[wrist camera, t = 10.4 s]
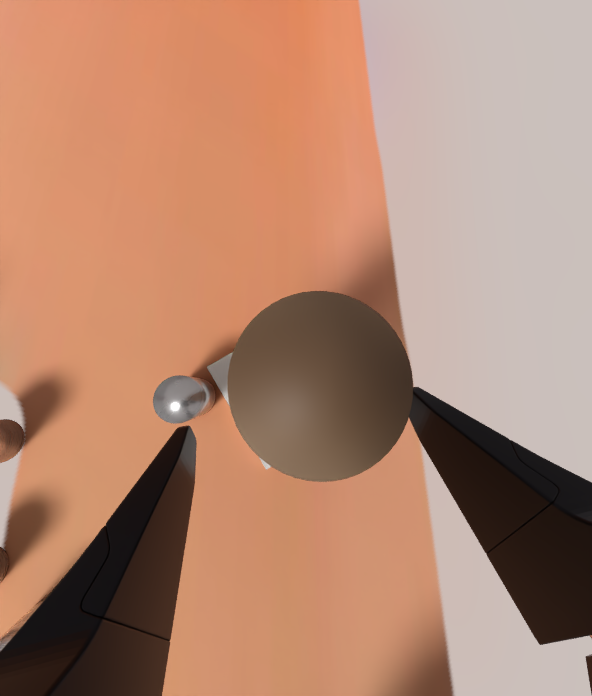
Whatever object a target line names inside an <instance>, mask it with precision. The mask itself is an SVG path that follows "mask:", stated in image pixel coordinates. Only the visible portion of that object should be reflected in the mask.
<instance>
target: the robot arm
mask: <svg viewBox="0 0 592 696" xmlns="http://www.w3.org/2000/svg"><path fill="white" fill-rule="evenodd" d="M409 418H410V421H411V423H412V425H413V427H414V429H415V432H416V434H417V436H418V438H419V440H420V441H421V443H422V445H423V447H424V448H425V450H426V452H427V454H428V455H429V457H430V459H431V460H432V462H433V464H434V465H435V467H436V469H437V471H438V472H439V474H440V476H441V477H442V479H443V481H444V483H445V484H446V486H447V488H448V489H449V491H450V493H451V495H452V496H453V498H454V500H455V501H456V503H457V505H458V507H459V508H460V510H461V512H462V513H463V515H464V516H465V519H466V520H467V522H468V524H469V525H470V527H471V529H472V530H473V532H474V534H475V536H476V537H477V539H478V540H479V542H480V544H481V546H482V548H483V549H484V551H485V553H487V556H488V558H489V560H490V562H491V563H492V565H493V566H494V568H495V570H496V572H497V573H498V575H499V577H500V579H501V580H502V582H503V584H504V585H505V587H506V589H507V591H508V592H509V594H510V596H511V597H512V599H513V601H514V603H515V604H516V606H517V608H518V609H519V611H520V613H521V614H522V616H523V618H524V620H525V621H526V623H527V625H528V626H529V628H530V630H531V632H532V633H533V635H534V637H535V638H536V639H537V641H538V643H539V644H540V645H543V644H548V643H552V642H558V641H563V640H568V639H574V638H579V637H583V636H590V637H591V638H592V483H591V482H589V481H587V480H585V479H583V478H581V477H580V476H578V475H575V474H574V473H572V472H569V471H568V470H566V469H564V468H562V467H560V466H558V465H556V464H554V463H552V462H550V461H548V460H546V459H544V458H542V457H540V456H538V455H537V454H535V453H533V452H531V451H529V450H528V449H526V448H524V447H522V446H520V445H519V444H517V443H515V442H513V441H511V440H509V439H508V438H506V437H505V436H503V435H501V434H499V433H498V432H496V431H494V430H492V429H491V428H489V427H487V426H485V425H484V424H482V423H480V422H478V421H477V420H475V419H473V418H471V417H470V416H468V415H466V414H464V413H462V412H461V411H459V410H457V409H456V408H454V407H452V406H450V405H449V404H447V403H445V402H443V401H442V400H440V399H438V398H436V397H435V396H433V395H431V394H429V393H428V392H426V391H424V390H422V389H421V388H419V387H413V398H412V405H411V410H410V414H409ZM195 466H196V438H195V435H194V433H193V431H192V429H191V427H190V426H182V427H179V428H177V429H176V431H175V432H174V433H173V435H172V436H171V437H170V439H169V440H168V441H167V443H166V444H165V445H164V447H163V448H162V449H161V451H160V452H159V453H158V455H157V456H156V457H155V459H154V460H153V461H152V463H151V464H150V465H149V467H148V468H147V469H146V471H145V472H144V473H143V475H142V476H141V477H140V479H139V480H138V481H137V483H136V484H135V485H134V487H133V488H132V489H131V491H130V492H129V493H128V495H127V496H126V497H125V499H124V500H123V501H122V503H121V504H120V505H119V507H118V508H117V509H116V511H115V512H114V513H113V515H112V516H111V517H110V519H109V520H108V521H107V523H106V526H104V527H103V528H102V529H101V531H100V532H99V533H98V535H97V536H96V537H95V539H94V540H93V541H92V542H91V544H90V545H89V546H88V548H87V549H86V550H85V552H84V553H83V554H82V555H81V557H80V558H79V559H78V560H77V562H76V563H75V564H74V565H73V567H72V568H71V569H70V570H69V571H68V573H67V574H66V575H65V576H64V577H63V579H62V580H61V581H60V582H59V583H58V585H57V586H56V587H55V588H54V589H53V590H52V592H51V593H50V594H49V595H48V596H47V598H46V599H45V600H44V601H43V602H42V603H41V605H40V606H39V607H38V608H37V609H36V610H35V612H34V613H33V614H32V615H31V616H30V617H29V619H28V620H27V621H26V622H25V623H24V625H23V626H22V627H21V628H20V629H19V630H18V632H17V633H16V634H15V635H14V636H13V637H12V639H11V640H10V641H9V642H8V643H7V644H6V645H5V647H4V648H3V649H2V650H1V651H0V696H162V691H163V685H164V678H165V672H166V666H167V659H168V653H169V646H170V639H171V633H172V626H173V620H174V614H175V607H176V601H177V594H178V588H179V581H180V575H181V569H182V562H183V556H184V549H185V543H186V537H187V530H188V524H189V517H190V511H191V505H192V498H193V492H194V484H195ZM586 662H587V668H588V675H589V681H590V687H591V693H592V655H589V656H586Z"/></svg>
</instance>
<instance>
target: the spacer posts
mask: <svg viewBox="0 0 592 696" xmlns="http://www.w3.org/2000/svg"><path fill="white" fill-rule="evenodd" d="M215 399H216V393H215V389H214V387H213V386H212V384H211V383H210V382H208V381H207V380H205V379H201V378H195V377H188V376H180V375H179V376H173V377H170V378H168V379H166V380H164V381H163V382H162V383H161V384H160V385H159V386H158V387H157V389H156V391H155V393H154V397H153V405H154V409H155V411H156V413H157V415H158V416H159V417H160V418H161V419H163V420H164V421H166V422H169V423H182V422H185V421H188V420H191V419H193V418H196V417H198V416H201V415H204V414H205V413H207V412H208V411H209V410H210V409H211V408H212V407H213V405H214V403H215ZM23 443H24V431H23V429H22V427H21V426H20V425H19V424H18V423H17V422H15V421H12V420H7V419H6V420H5V419H4V420H0V463H2V462H5V461H7V460H9V459H11V458H13V457H14V456H15V455H16V454H17V453H18V452H19V451H20V449H21V448H22V446H23ZM7 569H8V556H7V554H6V552H5V551H4V549H3V548H2V547H0V582H1V581H2V580H3V578H4V577H5V575H6V572H7ZM43 601H44V600H43ZM43 601H41V602H39V603H38V604H36V605H35V606H34V607H33V608H32V609H31V610H30V611H29V612H28V613H27V614H26V615H24V616H23V617H22V618H21V619H20V620H19V621H18V622H17V623H16V624H15V625H14V626H13V627H11V628H10V629H9V630H8V631H7V632H6V633H5V634H4V635H3V636H2V637H1V638H0V651H1V650H2V649H3V648H4V647H5V645H6V644H7V643H8V642H9V641H10V640H11V639H12V637H13V636H14V635H15V634H16V633H17V632H18V630H19V629H20V628H21V627H22V626H23V625H24V623H25V622H26V621H27V620H28V619H29V617H30V616H31V615H32V614H33V613H34V612H35V610H36V609H37V608H38V607H39V606H40V605H41V603H42V602H43Z"/></svg>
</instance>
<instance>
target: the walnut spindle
mask: <svg viewBox="0 0 592 696" xmlns="http://www.w3.org/2000/svg"><path fill="white" fill-rule="evenodd" d="M227 390H228V399H229V405H230V409H231V413H232V416H233V418H234V421H235V424H236V426H237V428H238V430H239V432H240V433H241V435H242V437H243V439H244V440H245V441H246V443H247V444H248V445H249V447H250V448H251V449H252V450H253V451H254V452H255V453H256V454H257V455H258V456H259V457H260V458H261V459H262V460H263V461H265V462H266V463H267V464H269V465H270V466H271V467H273V468H275V469H276V470H278V471H280V472H282V473H284V474H287V475H289V476H292V477H294V478H298V479H302V480H307V481H317V482H327V481H337V480H342V479H346V478H349V477H352V476H355V475H357V474H360V473H362V472H363V471H365V470H367V469H369V468H371V467H372V466H373V465H375V464H376V463H377V462H379V461H380V460H381V459H382V458H383V457H384V456H385V455H386V454H387V453H388V452H389V451H390V450H391V449H392V447H393V446H394V445H395V444H396V442H397V441H398V439H399V437H400V436H401V434H402V432H403V430H404V428H405V425H406V423H407V421H408V417H409V414H410V410H411V405H412V398H413V380H412V371H411V367H410V362H409V359H408V356H407V353H406V351H405V348H404V346H403V344H402V342H401V340H400V339H399V337H398V335H397V334H396V332H395V331H394V329H393V328H392V327H391V326H390V325H389V323H388V322H387V321H386V320H385V319H384V318H383V317H382V316H381V315H380V314H379V313H377V312H376V311H375V310H373V309H372V308H371V307H369V306H368V305H366V304H364V303H362V302H361V301H359V300H356V299H354V298H352V297H349V296H346V295H343V294H339V293H334V292H327V291H311V292H302V293H298V294H294V295H291V296H288V297H285V298H283V299H280V300H279V301H277V302H275V303H273V304H271V305H270V306H268V307H267V308H265V309H264V310H263V311H261V312H260V313H259V314H258V315H257V316H256V317H255V318H254V319H253V320H252V321H251V322H250V323H249V325H248V326H247V327H246V328H245V330H244V331H243V333H242V334H241V336H240V338H239V339H238V342H237V344H236V346H235V348H234V350H233V354H232V357H231V360H230V364H229V370H228V382H227Z"/></svg>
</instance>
